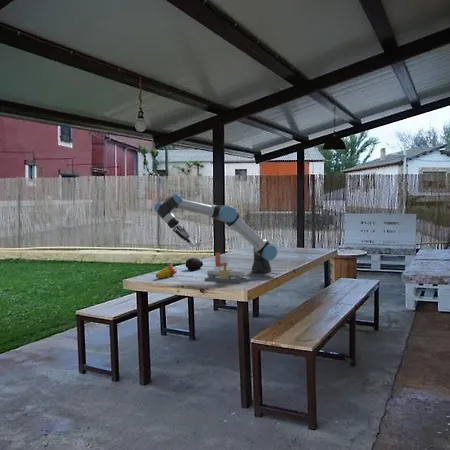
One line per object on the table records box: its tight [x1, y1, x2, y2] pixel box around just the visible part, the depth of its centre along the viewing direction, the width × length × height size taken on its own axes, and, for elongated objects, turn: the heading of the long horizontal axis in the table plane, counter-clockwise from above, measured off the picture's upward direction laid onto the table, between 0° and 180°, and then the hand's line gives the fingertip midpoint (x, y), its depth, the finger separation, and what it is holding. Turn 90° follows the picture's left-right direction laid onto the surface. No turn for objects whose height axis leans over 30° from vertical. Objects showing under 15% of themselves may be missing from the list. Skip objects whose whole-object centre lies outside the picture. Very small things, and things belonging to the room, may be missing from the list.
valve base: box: [204, 264, 247, 284], centre depth 336 cm, size 12×26×11 cm, turn 66°
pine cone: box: [185, 257, 204, 272], centre depth 390 cm, size 10×18×10 cm, turn 157°
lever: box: [214, 252, 229, 268], centre depth 330 cm, size 15×3×9 cm, turn 156°
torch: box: [155, 262, 178, 279], centre depth 353 cm, size 8×8×25 cm
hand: (193, 245), depth 330 cm, fingers closed
